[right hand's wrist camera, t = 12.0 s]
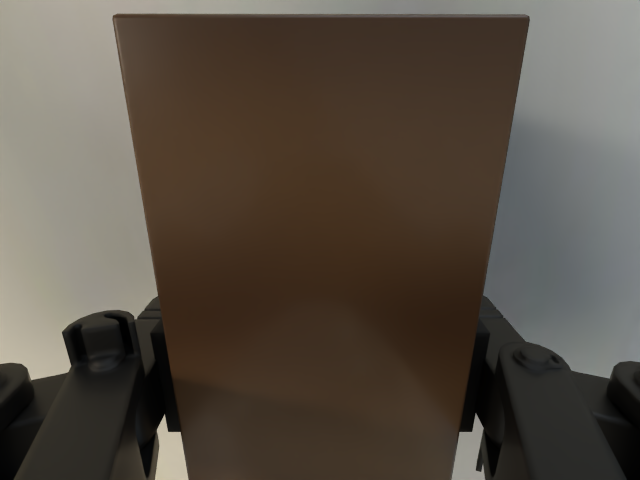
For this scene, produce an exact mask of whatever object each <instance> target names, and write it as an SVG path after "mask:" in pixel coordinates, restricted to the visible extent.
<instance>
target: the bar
mask: <svg viewBox="0 0 640 480" xmlns="http://www.w3.org/2000/svg"><path fill="white" fill-rule="evenodd" d="M529 21H530V19H529V16H527V15H525V14H116V15H113V25H114V31H115V37H116V43H117V49H118V55H119V61H120V67H121V73H122V79H123V85H124V91H125V97H126V103H127V109H128V115H129V121H130V128H131V134H132V140H133V146H134V152H135V158H136V164H137V170H138V176H139V182H140V188H141V194H142V200H143V206H144V212H145V218H146V224H147V230H148V236H149V243H150V249H151V255H152V261H153V267H154V273H155V279H156V285H157V291H158V297H159V303H160V309H161V315H162V321H163V327H164V333H165V339H166V345H167V351H168V358H169V364H170V370H171V376H172V382H173V388H174V394H175V400H176V406H177V412H178V418H179V424H180V430H181V436H182V442H183V448H184V454H185V460H186V466H187V473H188V479H189V480H451V478H452V472H453V467H454V461H455V455H456V449H457V443H458V437H459V431H460V426H461V420H462V414H463V408H464V402H465V396H466V390H467V384H468V379H469V373H470V367H471V361H472V355H473V349H474V343H475V338H476V332H477V326H478V320H479V314H480V308H481V302H482V297H483V291H484V285H485V279H486V273H487V267H488V261H489V255H490V250H491V244H492V238H493V232H494V226H495V220H496V214H497V209H498V203H499V197H500V191H501V185H502V179H503V173H504V167H505V162H506V156H507V150H508V144H509V138H510V132H511V126H512V121H513V115H514V109H515V103H516V97H517V91H518V85H519V80H520V74H521V68H522V62H523V56H524V50H525V44H526V38H527V33H528V27H529Z"/></svg>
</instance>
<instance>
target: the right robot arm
mask: <svg viewBox="0 0 640 480" xmlns="http://www.w3.org/2000/svg"><path fill="white" fill-rule="evenodd" d="M62 334H63V338H64V341H65V345H66V349H67V352H68V356H69V359H70V363H71V368H70V370H69V372H68V373H65V374H60V375H55V376H50V377H46V378H41V379H36V380H31V379H30V376H29V373H28V370H27V368H26V367H25V366H23V365H22V364H17V363H6V364H0V480H155V474H156V467H157V459H158V452H159V440H158V434H157V428H158V426H159V424H160V422H161V420H162V418H163V416H164V414H165V417H166V422H167V428H168V432H181V430H180V424H179V418H178V412H177V406H176V400H175V394H174V388H173V382H172V376H171V370H170V364H169V358H168V351H167V345H166V339H165V333H164V327H163V321H162V315H161V309H160V303H159V297H156V298H154V299H153V300H152V301H151V302H150V303H149V304H148V306H147V307H146V308H145V311H142V313H141V314H140V315H139V316H138V319H136V320H135V319H134V316H133V315H132V314H130V313H129V312H126V311H121V310H111V311H103V312H98V313H93V314H91V315H88V316H85V317H83V318H80V319H78V320H77V321H75V322H73V323H72V324H70V325H68V327H67V328H66V329H65V330H64V331H63V332H62ZM475 413H476V414H477V416H478V418H479V420H480V422H481V424H482V425H483V427H484V429H483V434H482V439H481V444H480V449H479V454H478V459H477V466H476V471H480V472H481V470H482V465H483V466H484V473H485V480H640V362H633V361H627V362H619V363H618V364H617V365H615V366H614V368H613V371H612V374H611V377H610V379H608V378H603V377H598V376H593V375H588V374H583V373H578V372H574V371H571V369H570V368H569V366H568V364H567V363H566V362H565V361H564V360H563V358H562V357H560V356H559V355H557V354H556V353H554V352H553V351H551V350H549V349H547V348H545V347H542V346H540V345H537V344H533V343H529V342H525V341H524V339H523V338H522V337H521V336H520V335H519V334H518V333H517V331H516V330H515V329H514V328H513V327H512V326H511V324H510V323H509V322H508V321H507V320H506V319H505V318H503V315H502V314H501V313H500V312H499V311H498V310H496V307H495V306H494V305H493V304H492V303H491V301H490V300H489V299H488V298H487V297H485V296H483V297H482V302H481V308H480V314H479V320H478V326H477V332H476V338H475V343H474V349H473V355H472V361H471V367H470V373H469V379H468V384H467V390H466V396H465V402H464V408H463V414H462V420H461V426H460V431H459V432H472V429H473V424H474V419H475Z"/></svg>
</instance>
